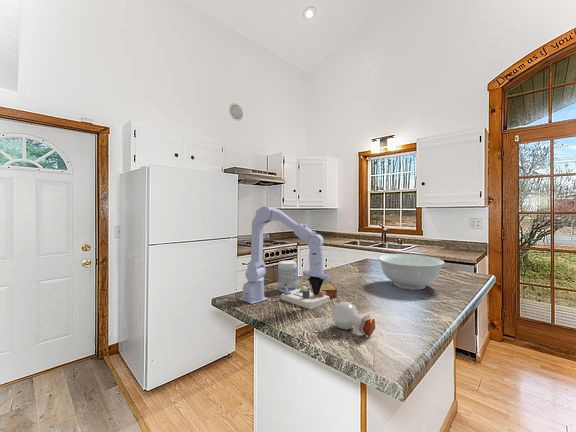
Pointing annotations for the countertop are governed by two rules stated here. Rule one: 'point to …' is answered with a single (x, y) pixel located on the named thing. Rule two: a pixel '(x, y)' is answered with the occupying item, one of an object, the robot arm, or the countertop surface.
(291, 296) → the console
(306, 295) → the slider
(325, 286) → the carton
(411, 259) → the bowl
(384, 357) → the countertop surface
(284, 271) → the supplement tub
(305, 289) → the button
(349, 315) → the potion bottle
